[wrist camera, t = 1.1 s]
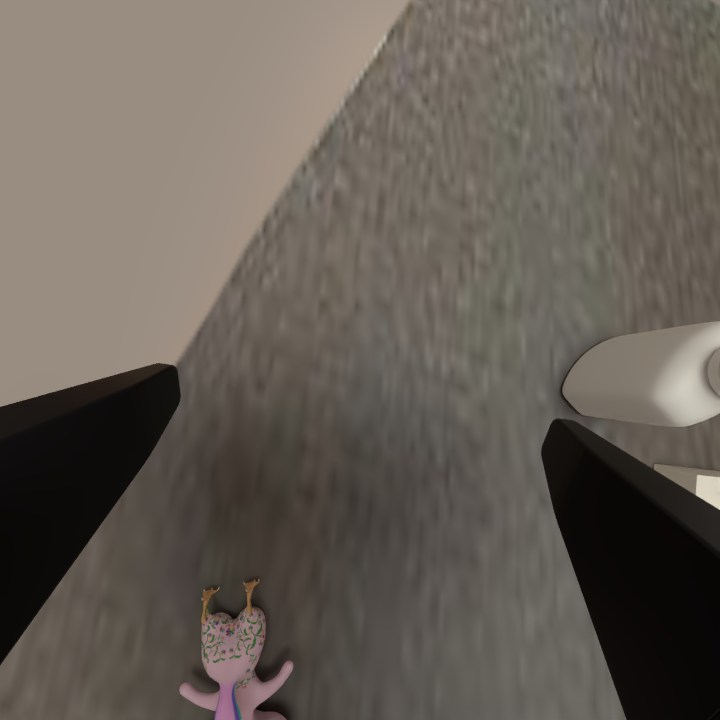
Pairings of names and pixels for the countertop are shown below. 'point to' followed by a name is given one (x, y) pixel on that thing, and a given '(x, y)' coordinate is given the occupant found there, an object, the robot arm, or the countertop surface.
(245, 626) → the pink creature figurine
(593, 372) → the eye dropper bottle
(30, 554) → the robot arm
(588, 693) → the countertop surface
